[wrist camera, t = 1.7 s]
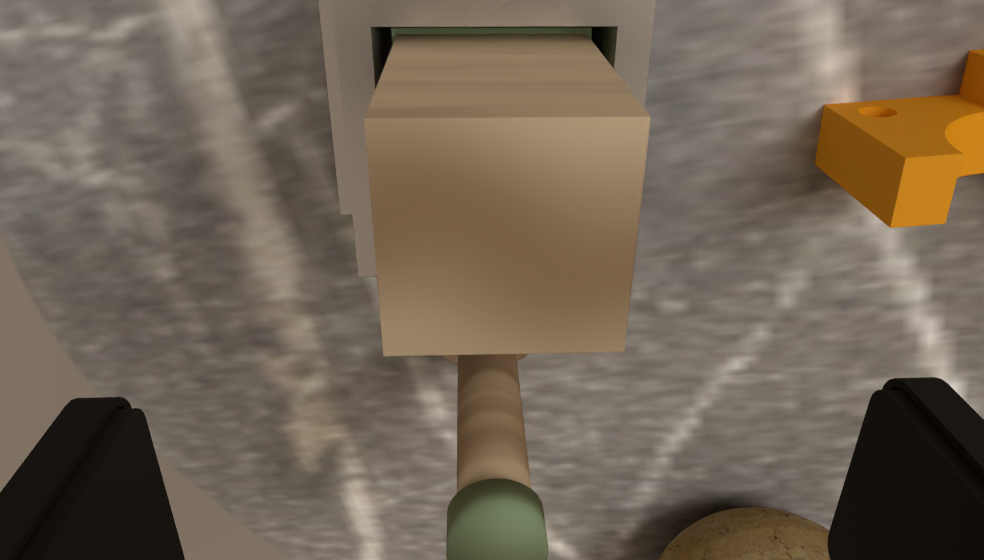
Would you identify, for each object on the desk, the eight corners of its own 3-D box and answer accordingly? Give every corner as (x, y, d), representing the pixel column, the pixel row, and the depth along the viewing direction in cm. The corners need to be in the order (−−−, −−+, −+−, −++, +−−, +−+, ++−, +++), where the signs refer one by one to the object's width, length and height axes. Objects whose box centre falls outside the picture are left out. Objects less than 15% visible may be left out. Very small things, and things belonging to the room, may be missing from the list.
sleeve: (311, -113, 25) (233, -106, 17) (653, -112, 26) (751, -104, 17) (343, 205, 31) (298, 334, 23) (622, 202, 32) (683, 328, 23)
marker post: (416, 246, 32) (388, 479, 20) (551, 244, 33) (607, 474, 20) (421, 357, 35) (400, 622, 23) (545, 355, 35) (591, 616, 23)
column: (407, -9, 26) (355, 110, 13) (561, -9, 26) (659, 108, 13) (415, 139, 29) (376, 361, 16) (553, 138, 29) (630, 357, 16)
